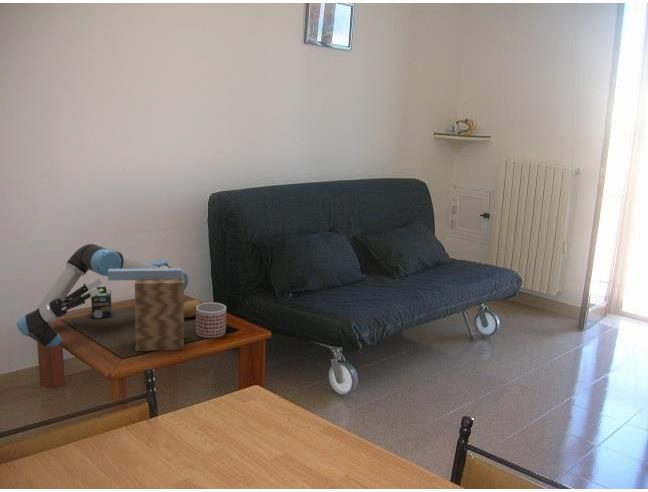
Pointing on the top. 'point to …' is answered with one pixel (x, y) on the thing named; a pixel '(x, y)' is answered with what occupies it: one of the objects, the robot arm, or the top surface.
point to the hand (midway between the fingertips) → (99, 285)
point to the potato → (190, 308)
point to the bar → (144, 274)
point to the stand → (159, 314)
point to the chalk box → (102, 304)
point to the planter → (211, 320)
